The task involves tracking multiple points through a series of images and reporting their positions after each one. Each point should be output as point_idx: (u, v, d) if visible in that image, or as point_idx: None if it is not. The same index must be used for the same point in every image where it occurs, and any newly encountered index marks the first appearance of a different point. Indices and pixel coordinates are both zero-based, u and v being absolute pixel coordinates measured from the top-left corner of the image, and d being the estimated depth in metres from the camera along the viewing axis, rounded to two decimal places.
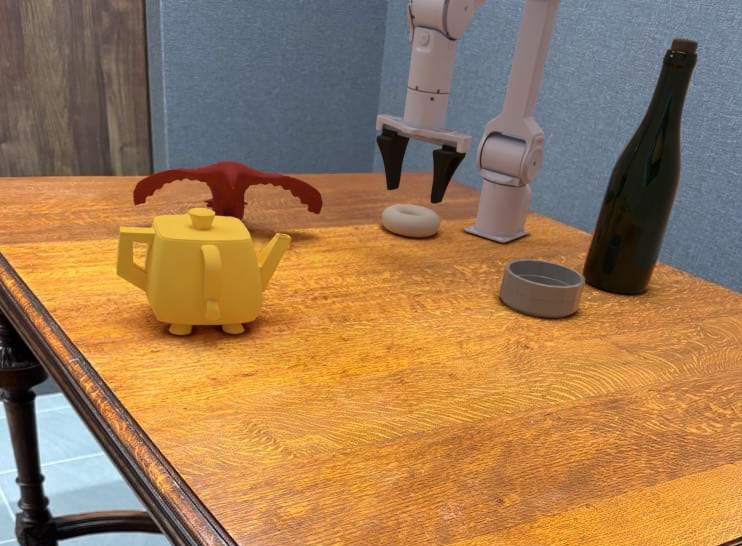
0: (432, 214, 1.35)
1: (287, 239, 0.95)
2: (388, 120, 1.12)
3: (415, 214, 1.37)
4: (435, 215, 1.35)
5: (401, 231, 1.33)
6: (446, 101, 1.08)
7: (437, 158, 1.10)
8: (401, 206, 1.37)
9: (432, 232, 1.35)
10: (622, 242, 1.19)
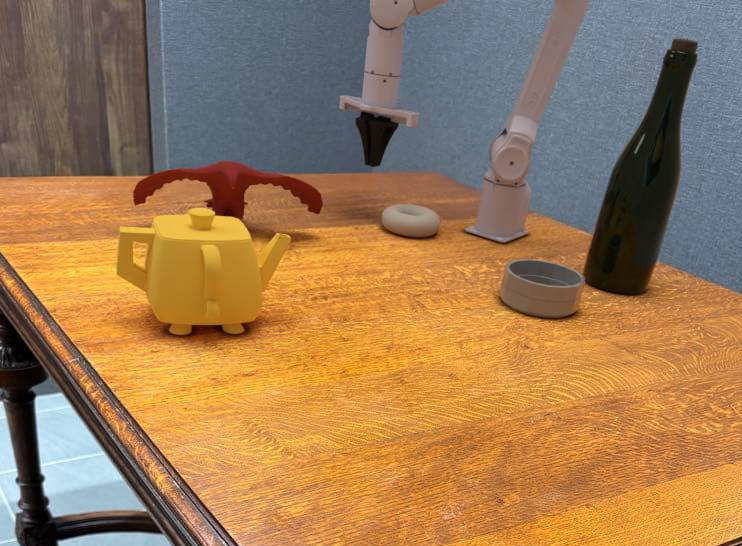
0: (432, 214, 1.35)
1: (287, 239, 0.95)
2: (349, 100, 1.32)
3: (415, 214, 1.37)
4: (435, 215, 1.35)
5: (401, 231, 1.33)
6: (397, 83, 1.28)
7: (373, 127, 1.30)
8: (401, 206, 1.37)
9: (432, 232, 1.35)
10: (622, 242, 1.19)
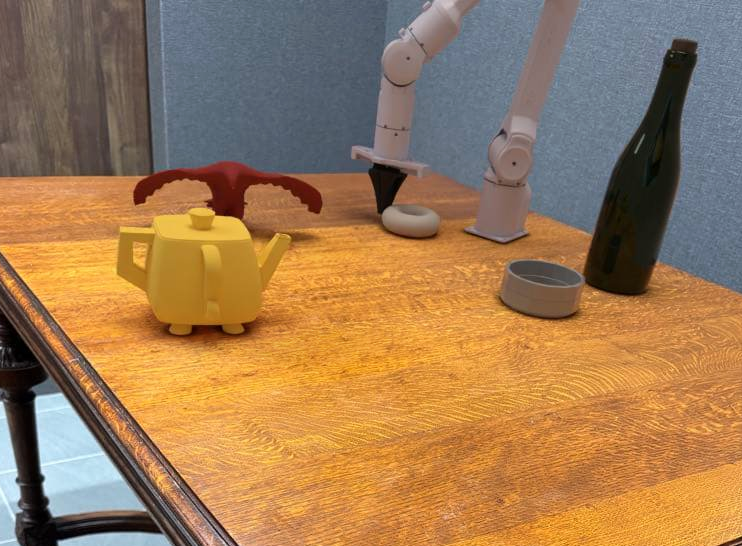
0: (432, 214, 1.35)
1: (287, 239, 0.95)
2: (361, 151, 1.35)
3: (415, 214, 1.37)
4: (435, 215, 1.35)
5: (401, 231, 1.33)
6: (408, 136, 1.31)
7: (383, 178, 1.33)
8: (401, 206, 1.37)
9: (432, 232, 1.35)
10: (622, 242, 1.19)
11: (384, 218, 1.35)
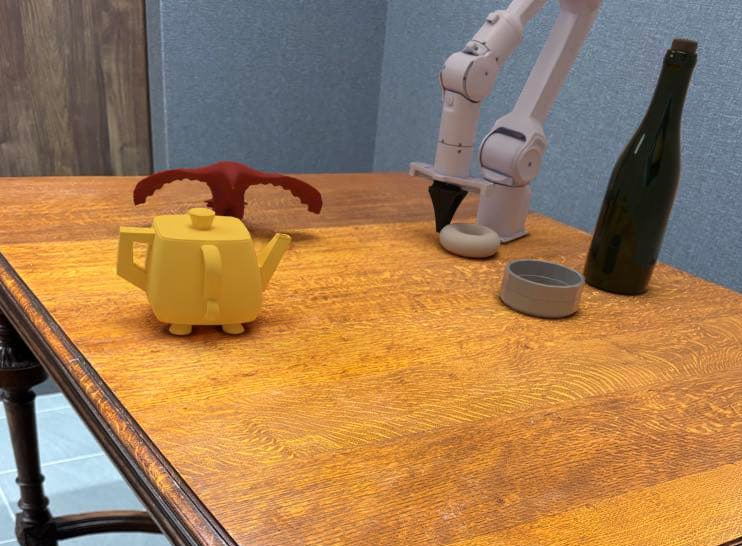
0: (492, 234, 1.29)
1: (287, 239, 0.95)
2: (420, 167, 1.30)
3: (474, 233, 1.32)
4: (495, 235, 1.30)
5: (459, 251, 1.28)
6: (471, 153, 1.26)
7: (443, 195, 1.28)
8: (460, 225, 1.32)
9: (491, 253, 1.29)
10: (622, 242, 1.19)
11: (442, 237, 1.30)
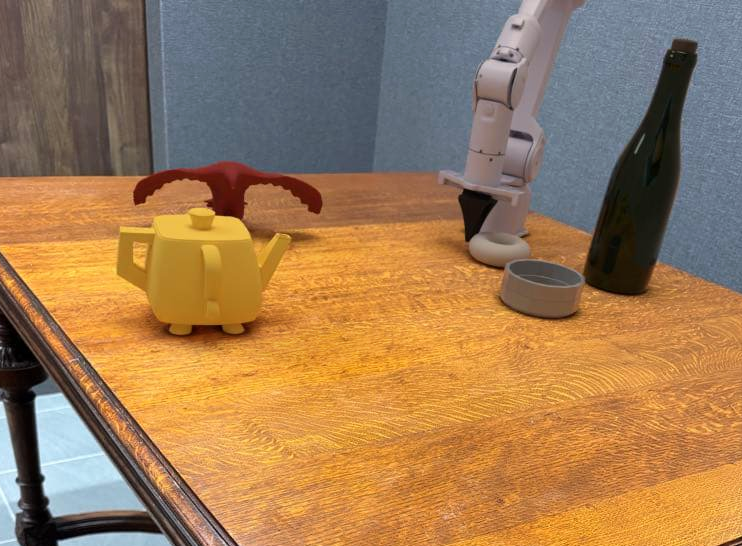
0: (523, 243, 1.27)
1: (287, 239, 0.95)
2: (450, 176, 1.27)
3: (504, 243, 1.30)
4: (526, 245, 1.27)
5: (489, 261, 1.26)
6: (503, 161, 1.23)
7: (473, 204, 1.26)
8: (489, 234, 1.30)
9: None
10: (622, 242, 1.19)
11: (471, 247, 1.27)
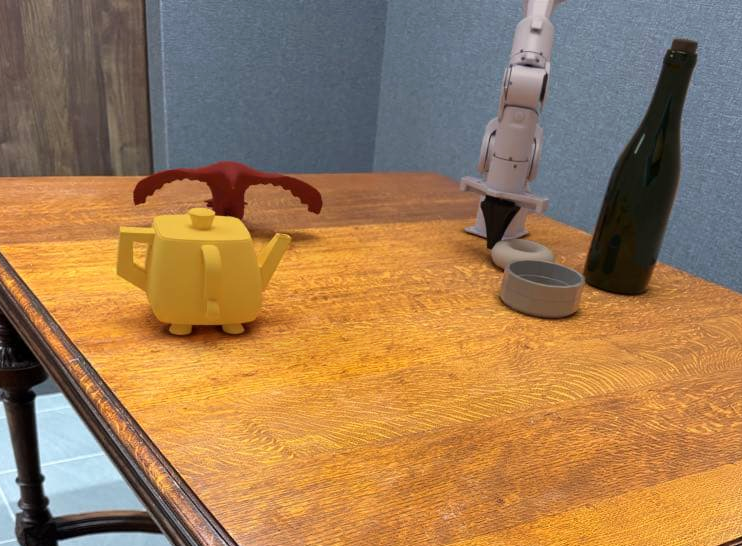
0: (547, 251, 1.25)
1: (287, 239, 0.95)
2: (472, 182, 1.26)
3: (527, 250, 1.28)
4: (549, 252, 1.26)
5: None
6: (526, 167, 1.22)
7: (497, 211, 1.24)
8: (512, 241, 1.28)
9: None
10: (622, 242, 1.19)
11: (494, 254, 1.26)
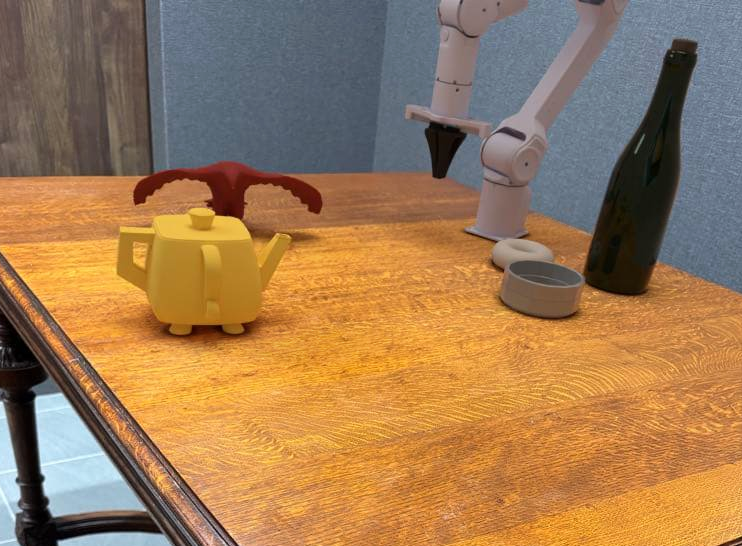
0: (547, 251, 1.25)
1: (287, 239, 0.95)
2: (416, 109, 1.26)
3: (527, 250, 1.28)
4: (549, 252, 1.26)
5: None
6: (469, 92, 1.22)
7: (442, 138, 1.24)
8: (512, 242, 1.28)
9: None
10: (622, 242, 1.19)
11: (494, 254, 1.26)
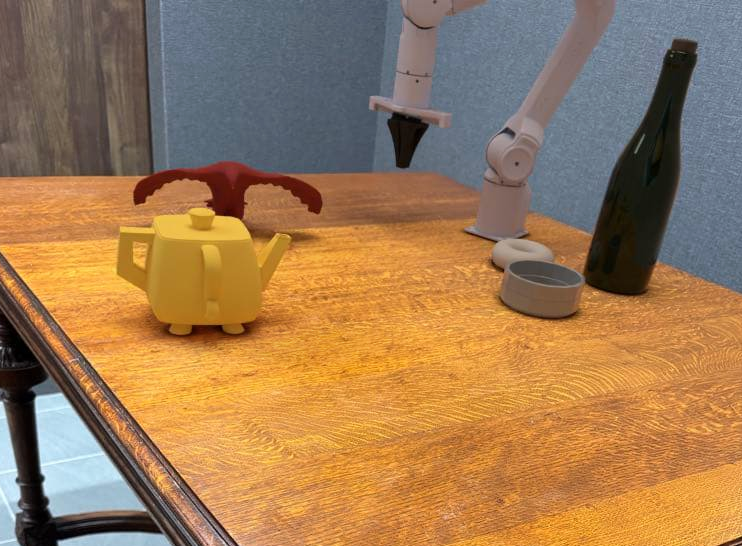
0: (547, 251, 1.25)
1: (287, 239, 0.95)
2: (379, 100, 1.29)
3: (527, 250, 1.28)
4: (549, 252, 1.26)
5: None
6: (430, 83, 1.25)
7: (403, 128, 1.27)
8: (512, 242, 1.28)
9: None
10: (622, 242, 1.19)
11: (494, 254, 1.26)
